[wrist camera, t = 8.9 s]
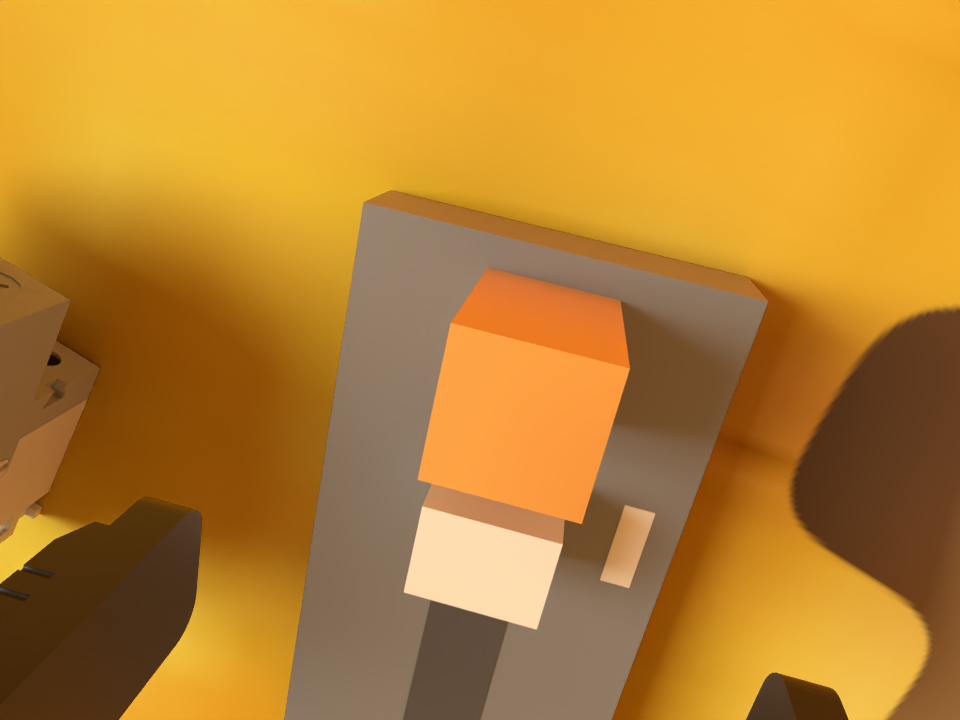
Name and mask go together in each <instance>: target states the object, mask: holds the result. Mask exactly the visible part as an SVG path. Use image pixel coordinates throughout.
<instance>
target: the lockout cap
mask: <svg viewBox="0 0 960 720" xmlns="http://www.w3.org/2000/svg"><path fill="white" fill-rule="evenodd" d="M629 370H630V365H629V358H628V351H627V343H626V336H625V329H624V322H623V315H622V308H621V301H620V300H617V299H613V298H609V297H605V296H601V295H597V294H593V293H589V292H585V291H581V290H577V289H573V288H569V287H565V286H561V285H557V284H553V283H549V282H545V281H541V280H537V279H533V278H529V277H525V276H521V275H516V274H512V273H508V272H504V271H500V270H496V269H492V268H487V270H486V271H485V273H484V274H483V276H482V277H481V279H480V280H479V281H478V283H477V284H476V286H475V287H474V289H473V290H472V292H471V293H470V295H469V296H468V298H467V299H466V301H465V302H464V304H463V305H462V307H461V308H460V310H459V311H458V313H457V314H456V316H455V317H454V319H453V320H452V322H451V324H450V328H449V333H448V338H447V343H446V347H445V352H444V357H443V361H442V366H441V371H440V376H439V380H438V385H437V390H436V395H435V399H434V404H433V409H432V413H431V418H430V423H429V428H428V432H427V437H426V442H425V446H424V451H423V456H422V461H421V465H420V470H419V475H418V479H417V480H420V481H424V482H428V483H431V484H435V485H439V486H442V487H446V488H450V489H454V490H457V491H461V492H465V493H468V494H472V495H476V496H480V497H483V498H487V499H491V500H494V501H498V502H502V503H505V504H509V505H513V506H517V507H520V508H524V509H528V510H531V511H535V512H539V513H543V514H546V515H550V516H554V517H557V518H561V519H565V520H568V521H572V522H576V523H580V524H582V521H583V518H584V515H585V512H586V509H587V505H588V502H589V499H590V496H591V492H592V489H593V486H594V483H595V480H596V476H597V473H598V470H599V467H600V464H601V460H602V457H603V454H604V451H605V447H606V444H607V441H608V438H609V435H610V431H611V428H612V425H613V422H614V418H615V415H616V412H617V409H618V406H619V402H620V399H621V396H622V393H623V390H624V386H625V383H626V380H627V377H628V373H629Z"/></svg>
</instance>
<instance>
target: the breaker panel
mask: <svg viewBox="0 0 960 720" xmlns="http://www.w3.org/2000/svg"><path fill="white" fill-rule="evenodd" d="M487 268H492V269H496V270H500V271H504V272H508V273H512V274H516V275H521V276H525V277H529V278H533V279H537V280H541V281H545V282H549V283H553V284H557V285H561V286H565V287H569V288H573V289H577V290H581V291H585V292H589V293H593V294H597V295H601V296H605V297H609V298H613V299H617V300H620V301H621V308H622V315H623V322H624V329H625V336H626V343H627V351H628V358H629V365H630V370H629V373H628V377H627V380H626V383H625V386H624V390H623V393H622V396H621V399H620V402H619V406H618V409H617V412H616V415H615V418H614V422H613V425H612V428H611V431H610V435H609V438H608V441H607V444H606V447H605V451H604V454H603V457H602V460H601V464H600V467H599V470H598V473H597V476H596V480H595V483H594V486H593V489H592V492H591V496H590V499H589V502H588V505H587V509H586V512H585V515H584V518H583V521H582V524H580V523H576V522H572V521H568V520H565V522H564V535H563V546H562V549H561V552H560V555H559V559H558V562H557V565H556V568H555V572H554V575H553V578H552V581H551V585H550V588H549V591H548V595H547V598H546V601H545V604H544V608H543V611H542V614H541V617H540V621H539V624H538V627H537V630H536V629H533V628H529V627H525V626H522V625H518V624H515V623H511V622H508V621H504V620H500V619H497V618H493V617H490V616H486V615H483V614H479V613H476V612H472V611H468V610H465V609H461V608H458V607H454V606H451V605H447V604H443V603H440V602H436V601H433V600H429V599H426V598H422V597H419V596H415V595H411V594H408V593H404V588H405V583H406V579H407V574H408V570H409V565H410V560H411V556H412V551H413V546H414V542H415V537H416V533H417V528H418V523H419V519H420V514H421V509H422V506H423V503H424V501H425V499H426V496H427V494H428V491H429V489H430V487H431V483H428V482H424V481H420V480H417V479H418V475H419V470H420V465H421V461H422V456H423V451H424V446H425V442H426V437H427V432H428V428H429V423H430V418H431V413H432V409H433V404H434V399H435V395H436V390H437V385H438V380H439V376H440V371H441V366H442V361H443V357H444V352H445V347H446V343H447V338H448V333H449V328H450V324H451V322H452V320H453V319H454V317H455V316H456V314H457V313H458V311H459V310H460V308H461V307H462V305H463V304H464V302H465V301H466V299H467V298H468V296H469V295H470V293H471V292H472V290H473V289H474V287H475V286H476V284H477V283H478V281H479V280H480V279H481V277H482V276H483V274H484V273H485V271H486V270H487ZM767 304H768V300H767V299H766V298H765V297H764V296H763V294H762V293H761V292H760V291H759V290H758V289H757V287H756V286H755V285H754V284H753V283H752V281H751V280H750V279H749V278H748V277H745V276H741V275H736V274H732V273H728V272H724V271H720V270H716V269H712V268H708V267H704V266H699V265H695V264H691V263H687V262H683V261H679V260H675V259H671V258H667V257H662V256H658V255H654V254H650V253H646V252H642V251H638V250H634V249H630V248H625V247H621V246H617V245H613V244H609V243H605V242H601V241H597V240H593V239H588V238H584V237H580V236H576V235H572V234H568V233H564V232H560V231H556V230H551V229H547V228H543V227H539V226H535V225H531V224H527V223H523V222H519V221H514V220H510V219H506V218H502V217H498V216H494V215H490V214H486V213H482V212H478V211H473V210H469V209H465V208H461V207H457V206H453V205H449V204H445V203H441V202H436V201H432V200H428V199H424V198H420V197H416V196H412V195H408V194H404V193H399V192H395V191H391V190H390V191H388V192H386V193H383V194H381V195H379V196H377V197H375V198H372V199H370V200H368V201H366V202H364V204H363V210H362V217H361V223H360V230H359V236H358V243H357V249H356V256H355V262H354V269H353V275H352V282H351V288H350V295H349V301H348V308H347V314H346V321H345V327H344V334H343V340H342V347H341V353H340V360H339V366H338V373H337V379H336V386H335V392H334V399H333V405H332V412H331V418H330V425H329V431H328V438H327V444H326V451H325V457H324V464H323V470H322V477H321V483H320V490H319V496H318V503H317V509H316V516H315V522H314V529H313V535H312V542H311V548H310V555H309V561H308V568H307V574H306V581H305V587H304V594H303V600H302V607H301V613H300V620H299V626H298V633H297V639H296V646H295V652H294V659H293V665H292V672H291V678H290V685H289V691H288V697H287V704H286V710H285V717H284V720H612V717H613V715H614V712H615V709H616V707H617V704H618V701H619V699H620V696H621V693H622V691H623V688H624V685H625V683H626V680H627V677H628V675H629V672H630V669H631V667H632V664H633V661H634V659H635V656H636V653H637V651H638V648H639V645H640V643H641V640H642V637H643V635H644V632H645V629H646V627H647V624H648V621H649V619H650V616H651V613H652V611H653V608H654V605H655V603H656V600H657V597H658V595H659V592H660V589H661V587H662V584H663V581H664V579H665V576H666V573H667V571H668V568H669V565H670V563H671V560H672V557H673V555H674V552H675V549H676V547H677V544H678V541H679V539H680V536H681V533H682V531H683V528H684V525H685V523H686V520H687V517H688V515H689V512H690V509H691V507H692V504H693V501H694V499H695V496H696V493H697V491H698V488H699V485H700V483H701V480H702V477H703V475H704V472H705V469H706V467H707V464H708V461H709V459H710V456H711V453H712V451H713V448H714V445H715V443H716V440H717V437H718V435H719V432H720V429H721V427H722V424H723V421H724V419H725V416H726V413H727V411H728V408H729V405H730V403H731V400H732V397H733V395H734V392H735V389H736V387H737V384H738V381H739V379H740V376H741V373H742V371H743V368H744V365H745V363H746V360H747V357H748V355H749V352H750V349H751V347H752V344H753V341H754V339H755V336H756V333H757V331H758V328H759V325H760V323H761V320H762V317H763V315H764V312H765V309H766V307H767Z"/></svg>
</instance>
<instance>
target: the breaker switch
mask: <svg viewBox="0 0 960 720" xmlns="http://www.w3.org/2000/svg"><path fill="white" fill-rule="evenodd" d="M564 522H565V519H561V518H557V517H554V516H550V515H546V514H543V513H539V512H535V511H531V510H528V509H524V508H520V507H517V506H513V505H509V504H505V503H502V502H498V501H494V500H491V499H487V498H483V497H480V496H476V495H472V494H468V493H465V492H461V491H457V490H454V489H450V488H446V487H442V486H439V485H435V484H431V487H430V489H429V491H428V494H427V496H426V499H425V501H424V503H423V506H422V509H421V514H420V519H419V523H418V528H417V533H416V537H415V542H414V546H413V551H412V556H411V560H410V565H409V570H408V574H407V579H406V583H405V588H404V593H408V594H411V595H415V596H419V597H422V598H426V599H429V600H433V601H436V602H440V603H443V604H447V605H451V606H454V607H458V608H461V609H465V610H468V611H472V612H476V613H479V614H483V615H486V616H490V617H493V618H497V619H500V620H504V621H508V622H511V623H515V624H518V625H522V626H525V627H529V628H533V629H536V630H537V627H538V624H539V621H540V617H541V614H542V611H543V608H544V604H545V601H546V598H547V595H548V591H549V588H550V585H551V581H552V578H553V575H554V572H555V568H556V565H557V562H558V559H559V555H560V552H561V549H562V546H563V535H564Z"/></svg>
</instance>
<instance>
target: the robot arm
mask: <svg viewBox="0 0 960 720" xmlns="http://www.w3.org/2000/svg"><path fill="white" fill-rule="evenodd" d="M201 530H202V517H201V514H200V513H199V511H197V510H194V509H190V508H187V507H183V506H179V505H176V504H172V503H169V502H165V501H161V500H158V499H154V498H151V497H144V498H142V499H140V500H139V501H137V502H136V503H135V504H134V505H133V506H131V507H130V508H129V509H128V510H127V511H126V512H125V513H124V514H122V515H121V516H120V517H119V518H118V519H117V520H116V521H114V522H113V523H112V524H111V525H110V526H108V525H105V524H101V523H98V522H94V523H91V524H89V525H87V526H84V527H82V528H80V529H78V530H75V531H73V532H71V533H68V534H66V535H64V536H61V537H59V538H57V539H55V540H53V541H52V542H51V543H50V544H49V545H47V546H46V547H45V548H44V549H42V550H41V551H40V552H39V553H38V554H36V555H35V556H34V557H33V558H31V559H30V560H29V561H28V562H27V563H25V564H24V567H23V569H22V570H21V571H20V570H17V571H16V572H14V573H13V574H12V575H11V576H10V577H8V578H7V579H6V580H5V581H3V582H2V583H1V584H0V720H119V719H120V717H121V716H122V715H123V713H124V712H125V711H126V710H127V708H128V707H129V706H130V704H131V703H132V702H133V700H134V699H135V698H136V696H137V695H138V694H139V693H140V691H141V690H142V689H143V687H144V686H145V685H146V683H147V682H148V681H149V679H150V678H151V677H152V676H153V674H154V673H155V672H156V670H157V669H158V668H159V666H160V665H161V664H162V663H163V661H164V660H165V659H166V657H167V656H168V655H169V653H170V652H171V651H172V649H173V648H174V647H175V646H176V644H177V643H178V641H179V640H180V638H181V637H182V635H183V633H184V631H185V629H186V627H187V625H188V623H189V620H190V618H191V615H192V612H193V608H194V604H195V600H196V590H197V578H198V566H199V554H200V542H201ZM746 720H848V717H847V715H846V712H845V710H844V707H843V705H842V702H841V700H840V698H839V696H838V694H837V693H836V692H835V691H834V690H833V689H831V688H829V687H825V686H822V685H818V684H815V683H811V682H807V681H804V680H800V679H797V678H793V677H789V676H786V675H782V674H778V673H772V674H770V675H769V676H768V677H767V678H766V679H765V681H764V683H763V685H762V687H761V689H760V691H759V693H758V695H757V697H756V700H755V702H754V704H753V706H752V708H751V710H750V712H749V715H748V717H747V719H746Z"/></svg>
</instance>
